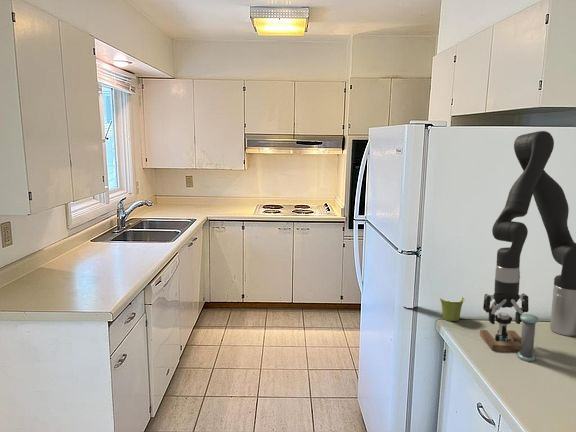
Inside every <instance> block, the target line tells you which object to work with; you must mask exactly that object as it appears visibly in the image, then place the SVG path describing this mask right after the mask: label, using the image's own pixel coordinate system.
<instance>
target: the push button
mask: <svg viewBox="0 0 576 432" xmlns="http://www.w3.org/2000/svg"><path fill="white" fill-rule="evenodd" d="M512 320H513V317H512V316H510V314H509V313H507V312H498V313H497V314H495V322H497V323H498V330H497V334H495V337H494V339H495V340H496V341H506V342H509V341H508V340H509V337H508V334H507V330H508V329H507V327H508V325H510V324H511V323H512Z"/></svg>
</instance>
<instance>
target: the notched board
mask: <svg viewBox="0 0 576 432" xmlns="http://www.w3.org/2000/svg"><path fill="white" fill-rule="evenodd" d="M507 334H508V337H509V338H508V340H510V341H507V342H506V341H496V340H495V337H494V336H493V335H492V334H491V333H490V332H489V331H488V329H480V330H479V336H480V338H481V339H482V340H483V342H484V343H485V344H486V345H487V346H488V348H489V349H490V350H491V351H494V352H520V349H521V335H520V334H519V333H517V332H516V330H508V329H507Z"/></svg>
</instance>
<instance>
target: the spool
mask: <svg viewBox="0 0 576 432" xmlns="http://www.w3.org/2000/svg"><path fill="white" fill-rule="evenodd" d="M520 319H521V320H522V321H521V325H522V326H521V335H520V337H521V349H520V351H517V358H518V359H520V360H521V361H524V362H528V363H530V362H531V363H533V362H535V361H536V355H535V354H534V345H535V344H534V343H535V334H536V333H535V332H536V324H537V323H539V317H538V316H536V315H533V314H531V313H530V314H529V313H523V314H522V315H521V316H520Z"/></svg>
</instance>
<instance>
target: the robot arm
mask: <svg viewBox="0 0 576 432" xmlns="http://www.w3.org/2000/svg"><path fill="white" fill-rule="evenodd" d="M513 142H514V143H513V150H514V154H515V157H516V159H517V160H518V163H519V164H520V166H521V169H522V173H521V174H520V176H519V177H517V179H516V180H515V182H514V183H513V184H512V186H511V188H510V190H509V191H508V196H507V199H506V202H505V205H504V208H503V209H502V210H501V212H500V214H499V216H497V219H496V220H495V222H494V223H493V225H492V230H491V232H492V236H493V238H494V239H495V240H497V241H500V242H501V241H502V242H507V243H511V245H510V247H509V246H508V247H500V248H499V249H498V250H497V252H496V267H495V271H494V272H495V273H494V293H493V294H488V293H485V294H484V297H483V298H484V299H483V306H482V309H483V311H485V313H487V314H488V321H489V323H490V324H491V325H495V322H496V318H495V315H496V313H497V311H499V310H500V309H505V308H514V309H515V310H516V312H515V316H514V317H515V318H514V322H515V324H517V325H520V324H521V323H522V322H523V321H522V320H521V319H520V316H521V315H522V314H525V313H528V312H529V296H528V295H527V294H525V293H521V294H519V292H520V279H521V270H520V265H521V254H522V250H523V247H524V245H525V243H526V240H527V238H528V233H529V231H528V227H527V225H526V224H525V223H523V222H521V221H520V222H519V221H513V220H514V219H515V218H522V217H525V216H526V215H527V214H528V211H529V208H530V205H531V201H532V198H534V202H535V204H536V207H537V209H538V214H539V215H540V218H541V221H542V224H543V227H544V228H545V231H546V234H547V238H548V239H547V240H548V243H549V247H550V251H551V256H552V257H553V260H554V261H555V262H556V263H557V264H559V265H560V266H561V272H560V274H559V275H555V276H554V278H553V289H552V299H551V311H550V312H551V313H550V314H551V315H550V323H549V329H550V330H551V332H554V333H556V334H559V335H563V336H568V337H570V336H571V337H573V336H576V242H575V241H574V240H573V237H572V235H571V233H570V230H569V226H568V218H569V212H570V211H569V210H570V207H569V204H568V200H567V198H566V197H567V196H566V194H565V191H564V189H563V188H562V186H561V185H560V184H559V183H558V182H557V181H556V180H555V179H554V178H553V177H552V176H550V175H549V174H548V173H547V171H545V168H546V165H547V163H548V162H549V159H550V157H551V155H552V153H553V150H554V147H555V140H554V137H553V135H552V134H551V133H550V132H548V131H546V130H539V131H538V130H537V131H534V132H530V133H526V134H525V133H524V134H520V135H519V136H517V137H516V138H515V140H514V141H513ZM492 300H494V301H493V302H492ZM519 300H520V301H521V307H520V306H519V304H518V301H519ZM491 302H492V304H491Z"/></svg>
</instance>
